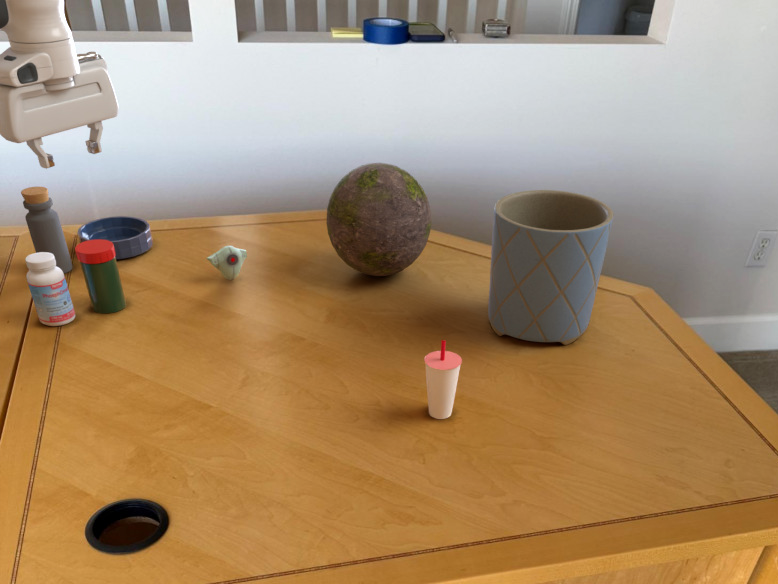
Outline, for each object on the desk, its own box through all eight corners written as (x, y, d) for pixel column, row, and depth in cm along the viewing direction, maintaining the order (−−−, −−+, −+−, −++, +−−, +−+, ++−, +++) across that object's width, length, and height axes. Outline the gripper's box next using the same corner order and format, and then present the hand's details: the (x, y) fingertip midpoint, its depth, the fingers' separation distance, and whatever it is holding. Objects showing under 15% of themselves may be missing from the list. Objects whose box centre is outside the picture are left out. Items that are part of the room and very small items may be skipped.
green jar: (85, 309, 140) (69, 251, 133) (107, 296, 144) (92, 239, 137) (111, 316, 138) (96, 257, 131) (133, 302, 142) (120, 245, 135)
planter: (474, 341, 133) (484, 223, 119) (494, 294, 146) (505, 184, 133) (586, 357, 129) (609, 237, 116) (595, 308, 143) (617, 196, 129)
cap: (69, 260, 134) (66, 249, 132) (94, 246, 138) (92, 236, 137) (99, 266, 132) (96, 256, 130) (123, 253, 136) (121, 243, 135)
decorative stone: (395, 244, 164) (396, 143, 150) (449, 279, 151) (455, 171, 138) (311, 264, 156) (304, 158, 142) (360, 302, 143) (357, 190, 130)
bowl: (67, 254, 158) (62, 234, 155) (113, 230, 168) (109, 212, 165) (123, 266, 154) (118, 247, 151) (167, 242, 163) (163, 222, 161)
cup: (431, 399, 119) (435, 327, 111) (463, 408, 117) (469, 336, 109) (416, 416, 115) (418, 343, 107) (448, 426, 113) (453, 353, 105)
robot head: (247, 272, 153) (243, 238, 148) (255, 279, 150) (251, 245, 146) (208, 280, 150) (203, 246, 145) (216, 288, 147) (211, 253, 142)
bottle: (79, 267, 153) (57, 189, 143) (55, 278, 150) (31, 198, 139) (59, 260, 156) (36, 183, 145) (35, 271, 152) (10, 191, 142)
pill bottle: (56, 330, 134) (36, 267, 126) (32, 321, 136) (12, 259, 129) (83, 317, 138) (66, 255, 130) (60, 308, 140) (42, 247, 132)
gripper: (89, 46, 123) (110, 141, 132) (-28, 69, 110) (5, 172, 119) (116, 51, 120) (135, 147, 129) (0, 75, 107) (30, 180, 117)
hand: (72, 159), depth 124 cm, fingers open, 8 cm apart
